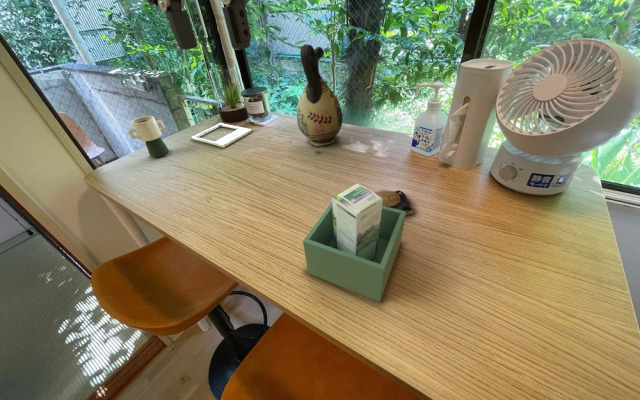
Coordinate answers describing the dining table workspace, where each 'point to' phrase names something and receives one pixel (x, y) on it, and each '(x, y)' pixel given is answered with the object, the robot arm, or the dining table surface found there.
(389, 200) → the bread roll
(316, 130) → the ceramic jug
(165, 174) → the dining table surface
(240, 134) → the photo frame
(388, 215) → the tote
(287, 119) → the dining table surface
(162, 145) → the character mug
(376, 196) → the syrup box
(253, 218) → the dining table surface
